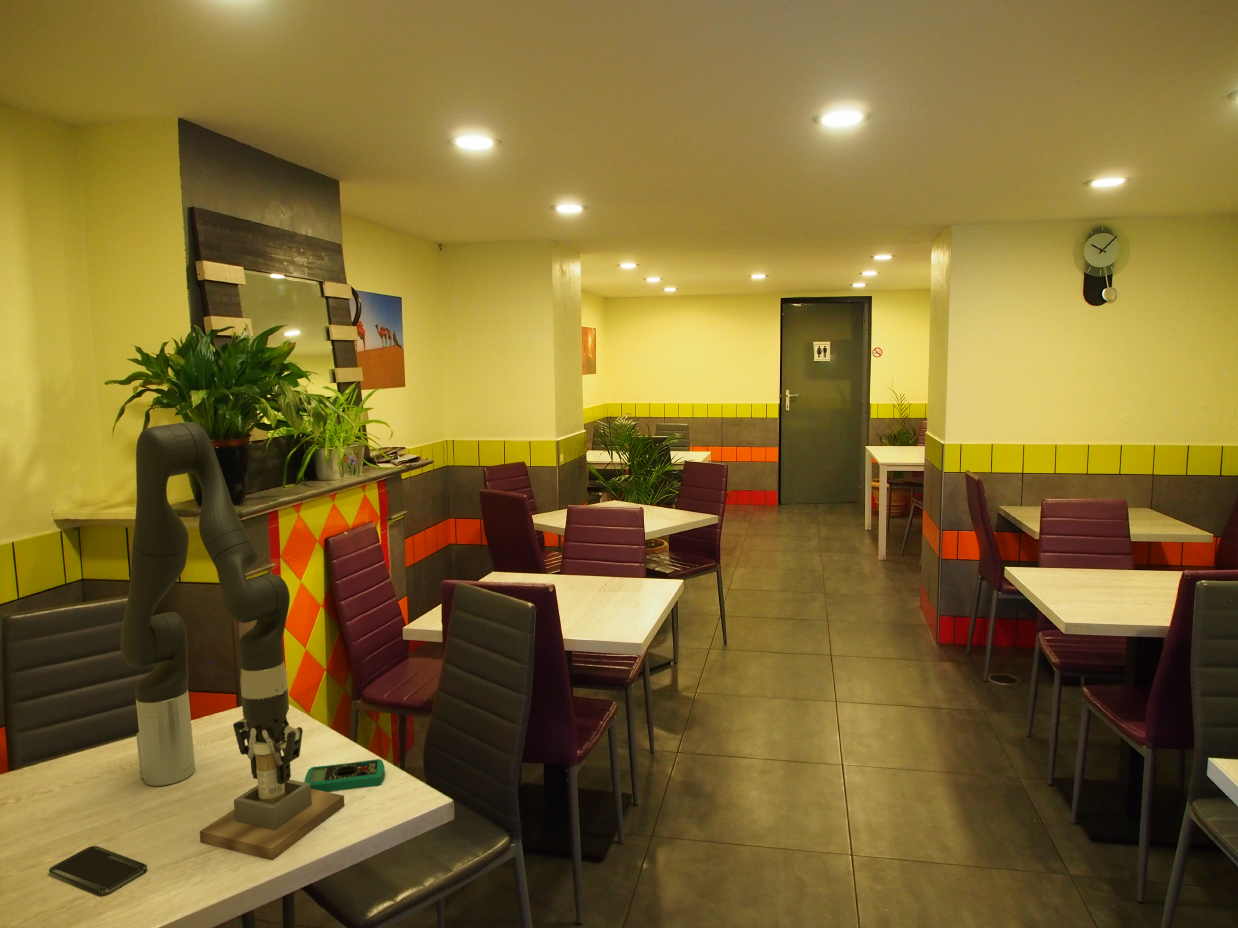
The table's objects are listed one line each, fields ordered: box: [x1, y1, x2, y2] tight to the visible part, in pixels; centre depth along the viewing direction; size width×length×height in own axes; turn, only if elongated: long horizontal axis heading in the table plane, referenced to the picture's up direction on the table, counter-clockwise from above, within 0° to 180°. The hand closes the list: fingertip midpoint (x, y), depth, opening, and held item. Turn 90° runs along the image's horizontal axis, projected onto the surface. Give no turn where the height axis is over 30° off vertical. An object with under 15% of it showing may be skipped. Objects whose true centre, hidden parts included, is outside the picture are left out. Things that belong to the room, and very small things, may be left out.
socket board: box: [199, 789, 345, 861], centre depth 148 cm, size 16×18×2 cm
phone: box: [48, 845, 148, 897], centre depth 135 cm, size 8×1×15 cm
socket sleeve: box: [233, 778, 312, 830], centre depth 148 cm, size 9×9×4 cm
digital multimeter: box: [304, 758, 385, 793], centre depth 163 cm, size 7×15×3 cm, turn 103°
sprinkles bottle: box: [253, 742, 285, 805], centre depth 148 cm, size 5×5×13 cm
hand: (271, 778), depth 148 cm, fingers open, 5 cm apart
